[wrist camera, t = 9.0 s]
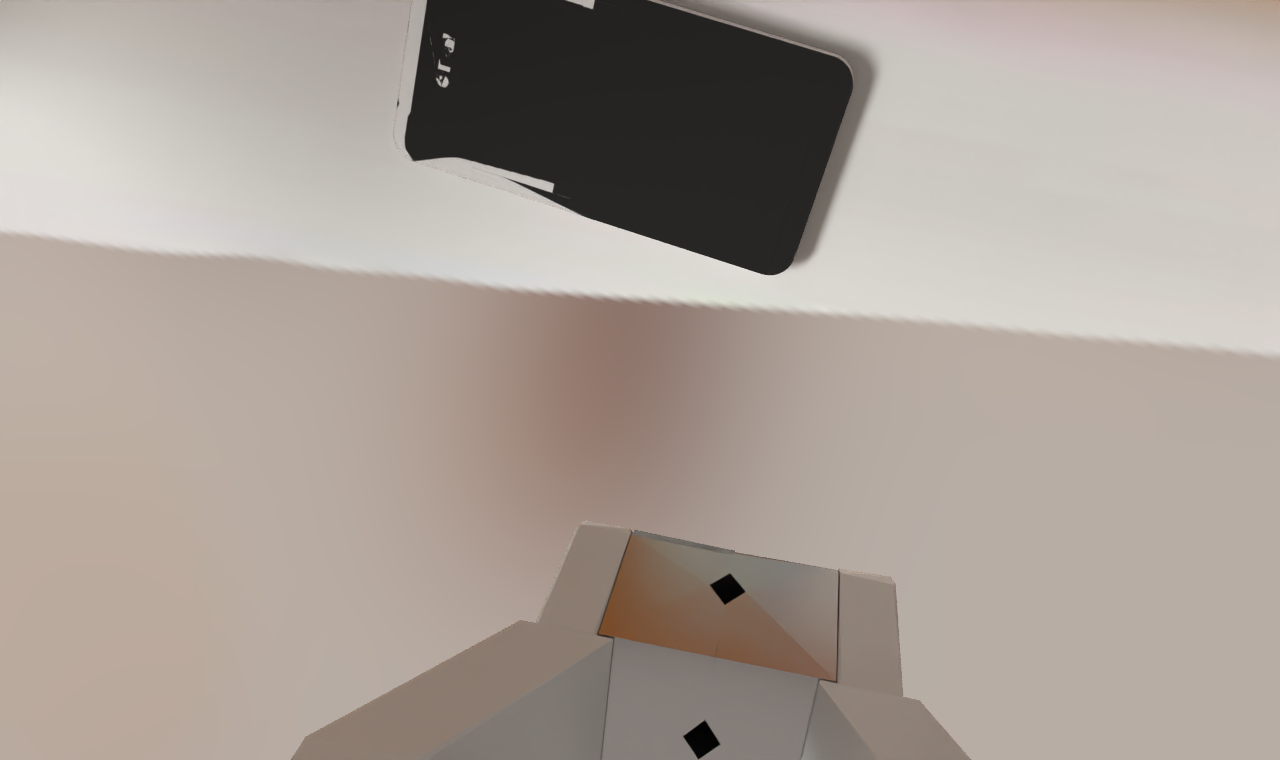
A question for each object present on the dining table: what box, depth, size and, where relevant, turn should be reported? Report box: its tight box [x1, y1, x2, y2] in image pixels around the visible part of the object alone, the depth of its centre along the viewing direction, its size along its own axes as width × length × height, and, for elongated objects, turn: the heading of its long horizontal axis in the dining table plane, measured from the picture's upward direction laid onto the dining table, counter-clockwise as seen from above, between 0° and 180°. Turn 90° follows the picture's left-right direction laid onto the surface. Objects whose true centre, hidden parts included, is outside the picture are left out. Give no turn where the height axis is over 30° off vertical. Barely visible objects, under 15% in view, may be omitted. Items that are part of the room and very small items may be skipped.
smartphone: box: [393, 0, 854, 275], centre depth 35 cm, size 8×1×15 cm
